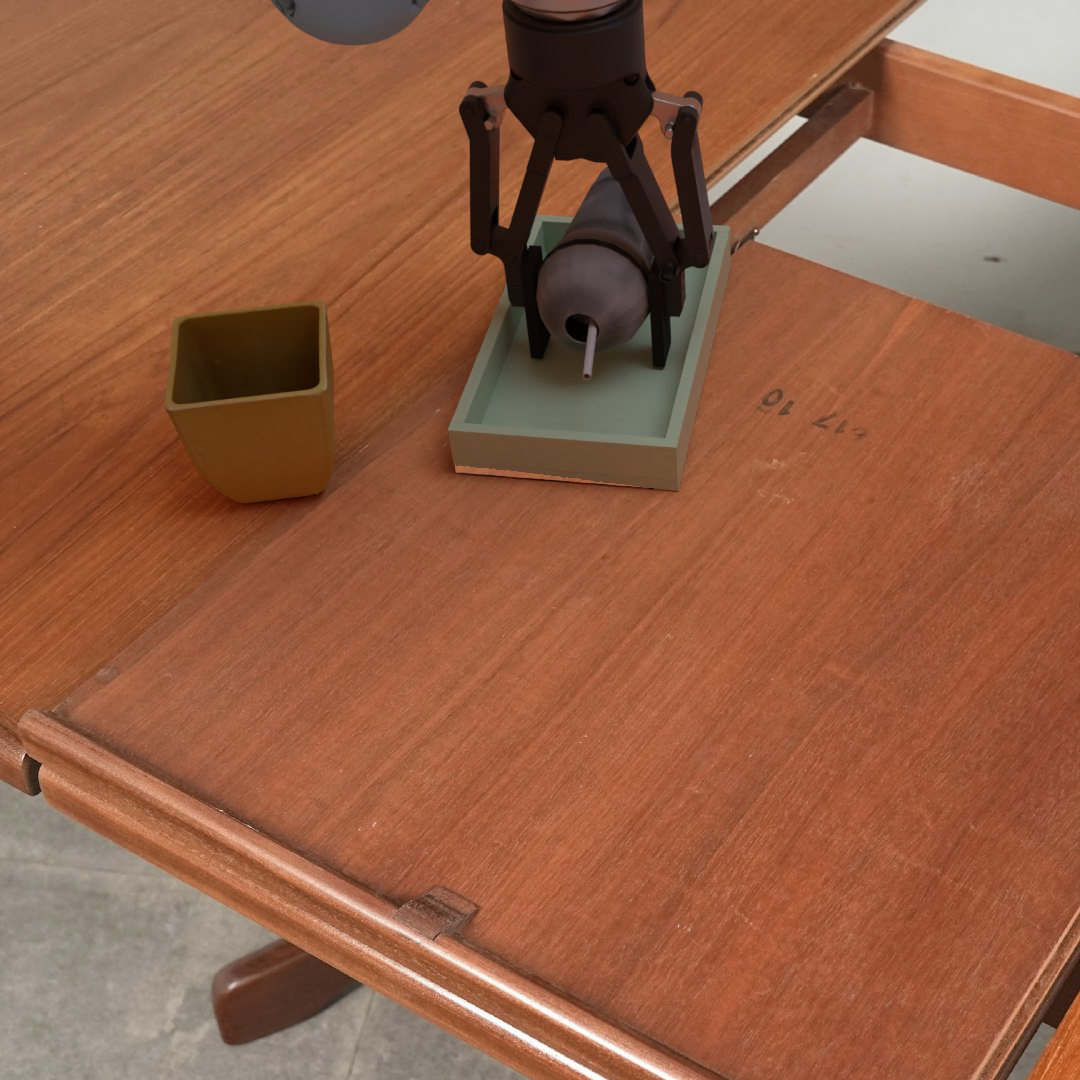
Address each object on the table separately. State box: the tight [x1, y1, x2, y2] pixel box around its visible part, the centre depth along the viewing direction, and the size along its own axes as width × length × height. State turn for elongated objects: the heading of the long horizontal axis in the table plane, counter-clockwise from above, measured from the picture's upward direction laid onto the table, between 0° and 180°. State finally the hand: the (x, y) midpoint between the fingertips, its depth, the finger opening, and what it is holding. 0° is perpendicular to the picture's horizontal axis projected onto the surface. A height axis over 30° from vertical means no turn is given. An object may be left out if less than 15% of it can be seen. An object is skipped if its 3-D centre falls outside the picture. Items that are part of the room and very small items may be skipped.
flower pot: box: [164, 300, 336, 504], centre depth 90 cm, size 9×9×9 cm
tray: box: [447, 214, 732, 492], centre depth 99 cm, size 24×14×3 cm, turn 172°
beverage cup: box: [536, 165, 653, 380], centre depth 96 cm, size 7×7×20 cm
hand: (601, 349), depth 99 cm, fingers closed on beverage cup, 7 cm apart
